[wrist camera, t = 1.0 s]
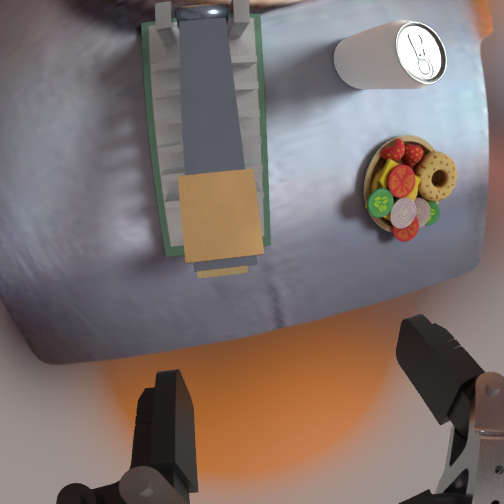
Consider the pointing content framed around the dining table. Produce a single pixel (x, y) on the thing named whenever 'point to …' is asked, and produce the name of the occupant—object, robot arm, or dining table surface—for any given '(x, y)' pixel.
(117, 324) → the dining table surface
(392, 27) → the can
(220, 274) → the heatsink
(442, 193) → the toy food set
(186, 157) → the grey and tan bar
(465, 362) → the robot arm
